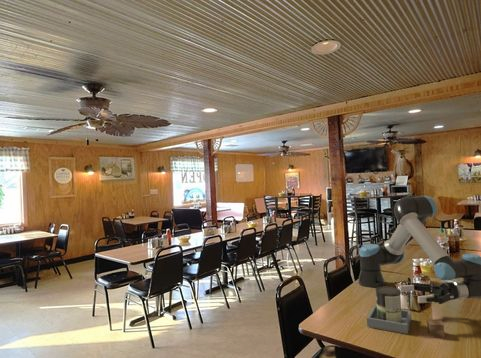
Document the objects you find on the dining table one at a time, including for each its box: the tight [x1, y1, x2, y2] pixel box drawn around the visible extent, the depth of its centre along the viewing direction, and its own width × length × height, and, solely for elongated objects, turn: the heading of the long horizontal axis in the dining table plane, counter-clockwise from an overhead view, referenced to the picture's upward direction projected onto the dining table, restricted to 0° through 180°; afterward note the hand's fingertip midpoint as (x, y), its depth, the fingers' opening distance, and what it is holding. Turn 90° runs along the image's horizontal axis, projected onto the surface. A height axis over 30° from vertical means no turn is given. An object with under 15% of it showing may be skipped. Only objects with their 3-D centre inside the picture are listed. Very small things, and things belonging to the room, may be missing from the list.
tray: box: [366, 305, 412, 335], centre depth 147 cm, size 16×16×4 cm
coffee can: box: [375, 285, 402, 323], centre depth 147 cm, size 10×10×14 cm
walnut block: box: [426, 318, 445, 339], centre depth 134 cm, size 5×5×5 cm
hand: (408, 294), depth 147 cm, fingers open, 13 cm apart
